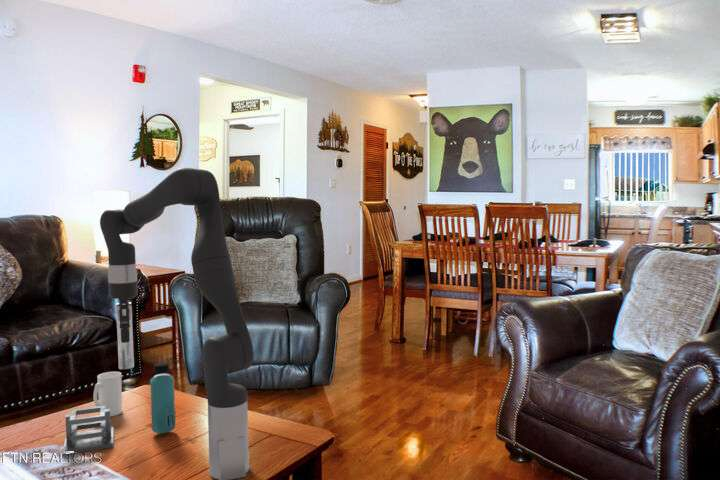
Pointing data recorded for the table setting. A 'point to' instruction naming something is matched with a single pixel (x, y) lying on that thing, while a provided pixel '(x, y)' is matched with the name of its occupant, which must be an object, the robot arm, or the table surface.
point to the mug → (109, 392)
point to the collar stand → (88, 438)
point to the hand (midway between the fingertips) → (125, 340)
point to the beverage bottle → (162, 400)
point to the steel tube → (125, 346)
